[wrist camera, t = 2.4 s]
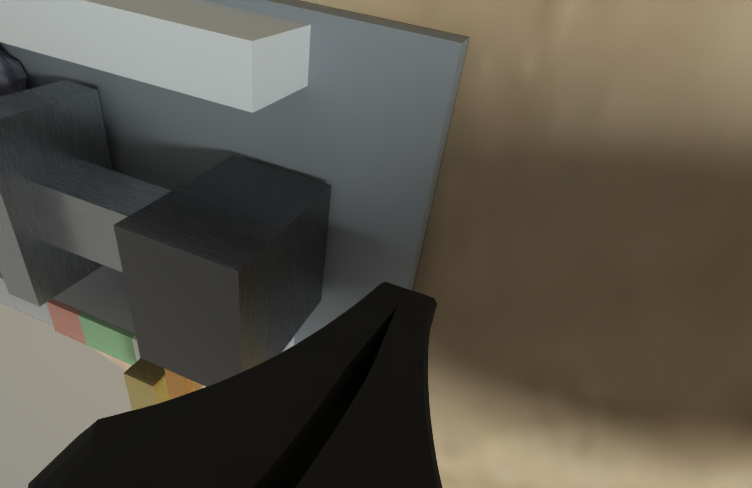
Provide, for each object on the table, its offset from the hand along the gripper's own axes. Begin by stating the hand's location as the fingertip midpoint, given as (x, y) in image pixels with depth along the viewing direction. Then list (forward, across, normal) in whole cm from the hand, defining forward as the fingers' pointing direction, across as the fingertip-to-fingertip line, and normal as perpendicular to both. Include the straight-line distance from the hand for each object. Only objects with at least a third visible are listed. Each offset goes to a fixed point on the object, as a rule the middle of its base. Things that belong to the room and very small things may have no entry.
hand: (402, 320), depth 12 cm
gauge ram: (+2, +7, +1) cm, 7 cm away
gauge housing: (+3, +8, 0) cm, 8 cm away
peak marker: (-1, +7, +4) cm, 8 cm away
